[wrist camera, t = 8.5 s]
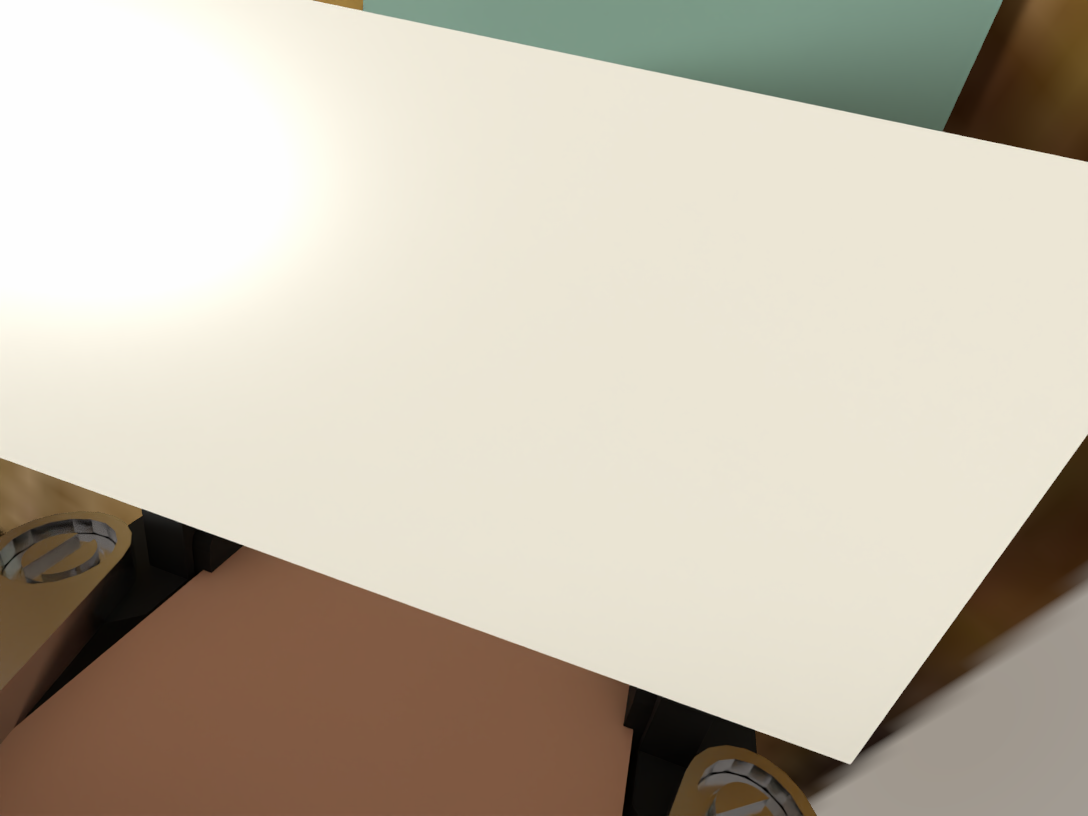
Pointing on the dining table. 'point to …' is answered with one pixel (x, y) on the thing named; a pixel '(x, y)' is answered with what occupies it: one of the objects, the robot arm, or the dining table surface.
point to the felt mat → (754, 44)
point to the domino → (540, 337)
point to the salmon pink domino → (317, 713)
